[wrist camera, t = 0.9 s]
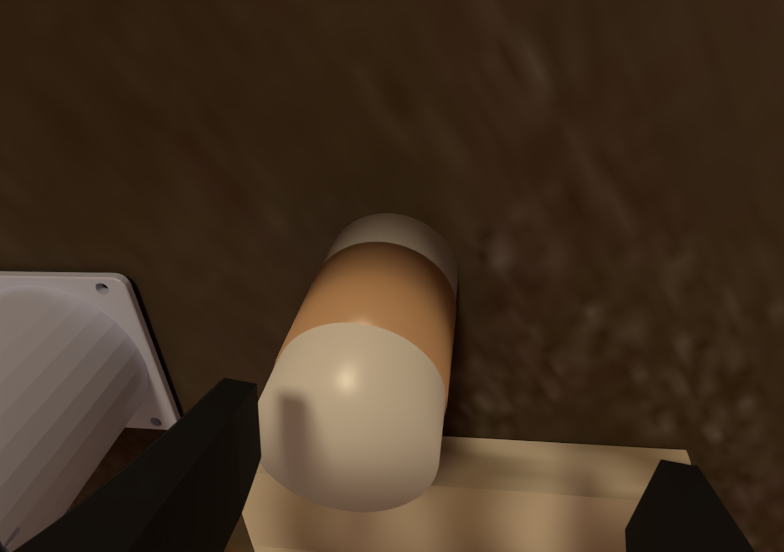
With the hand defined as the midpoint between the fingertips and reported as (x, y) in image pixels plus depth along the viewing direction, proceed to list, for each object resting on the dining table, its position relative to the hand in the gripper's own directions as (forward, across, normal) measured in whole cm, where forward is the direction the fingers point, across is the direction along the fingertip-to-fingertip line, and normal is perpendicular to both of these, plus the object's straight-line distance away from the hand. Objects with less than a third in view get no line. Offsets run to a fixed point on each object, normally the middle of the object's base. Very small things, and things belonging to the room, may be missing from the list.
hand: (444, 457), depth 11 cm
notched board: (+10, -2, +16) cm, 19 cm away
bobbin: (+10, +2, +3) cm, 11 cm away
